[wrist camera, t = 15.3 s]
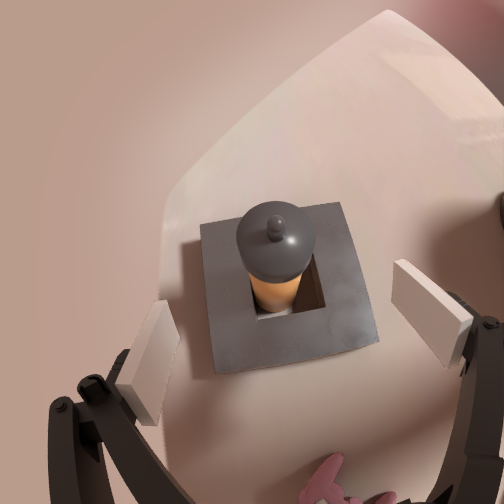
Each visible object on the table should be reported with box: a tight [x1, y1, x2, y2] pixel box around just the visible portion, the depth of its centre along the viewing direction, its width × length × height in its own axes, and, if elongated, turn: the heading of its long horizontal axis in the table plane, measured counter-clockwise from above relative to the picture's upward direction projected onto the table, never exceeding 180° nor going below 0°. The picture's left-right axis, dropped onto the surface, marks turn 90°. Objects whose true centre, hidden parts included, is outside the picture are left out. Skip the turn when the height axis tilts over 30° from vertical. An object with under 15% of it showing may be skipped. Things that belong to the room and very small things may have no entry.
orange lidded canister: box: [236, 201, 316, 312], centre depth 21 cm, size 5×5×14 cm
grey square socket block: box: [200, 202, 379, 373], centre depth 26 cm, size 14×14×3 cm
